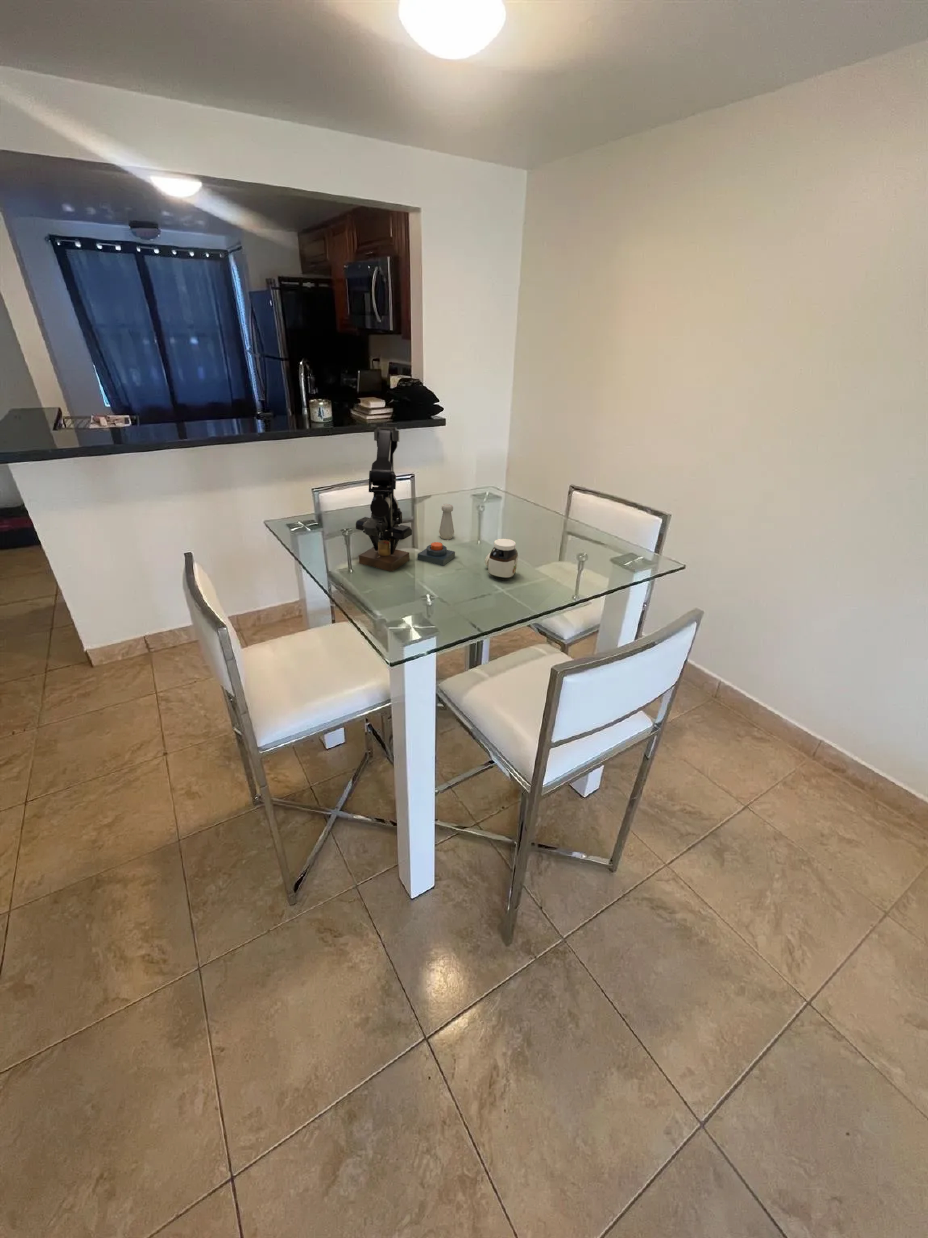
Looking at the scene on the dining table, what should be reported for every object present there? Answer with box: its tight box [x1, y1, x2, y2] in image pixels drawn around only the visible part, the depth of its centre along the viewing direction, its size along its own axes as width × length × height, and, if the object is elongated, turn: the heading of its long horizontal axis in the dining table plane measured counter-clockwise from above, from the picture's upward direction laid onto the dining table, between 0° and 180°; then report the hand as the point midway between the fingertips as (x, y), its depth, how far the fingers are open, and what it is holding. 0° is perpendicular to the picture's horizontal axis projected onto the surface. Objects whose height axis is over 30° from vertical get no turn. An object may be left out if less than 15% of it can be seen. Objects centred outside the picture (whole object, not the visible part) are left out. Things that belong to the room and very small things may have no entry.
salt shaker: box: [438, 503, 455, 541], centre depth 193 cm, size 6×6×13 cm
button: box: [430, 541, 444, 550], centre depth 176 cm, size 4×4×2 cm
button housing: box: [417, 544, 456, 567], centre depth 177 cm, size 10×9×4 cm
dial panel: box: [358, 546, 410, 572], centre depth 172 cm, size 13×11×3 cm
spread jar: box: [484, 538, 519, 581], centre depth 167 cm, size 12×11×12 cm
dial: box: [378, 539, 390, 556], centre depth 171 cm, size 4×4×4 cm
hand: (384, 552), depth 171 cm, fingers open, 6 cm apart
